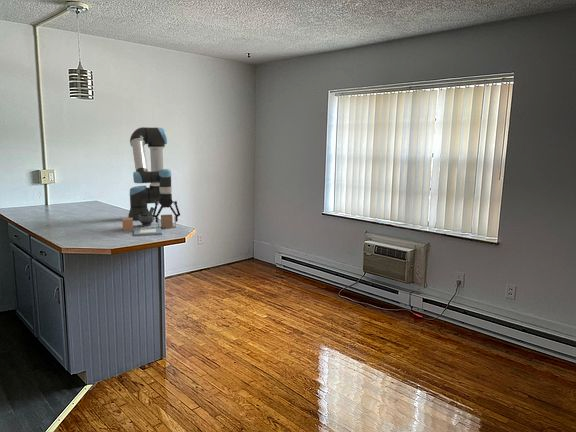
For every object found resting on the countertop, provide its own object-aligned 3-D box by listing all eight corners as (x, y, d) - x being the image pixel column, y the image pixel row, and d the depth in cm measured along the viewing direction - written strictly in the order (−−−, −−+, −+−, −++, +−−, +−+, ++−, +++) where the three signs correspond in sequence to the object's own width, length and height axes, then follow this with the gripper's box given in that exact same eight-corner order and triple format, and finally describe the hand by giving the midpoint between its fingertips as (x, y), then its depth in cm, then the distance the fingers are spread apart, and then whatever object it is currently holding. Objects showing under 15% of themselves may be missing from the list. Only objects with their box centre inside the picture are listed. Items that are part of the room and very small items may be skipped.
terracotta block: (123, 228, 284) (122, 218, 282) (133, 228, 286) (132, 217, 284) (122, 230, 278) (122, 219, 277) (132, 230, 280) (132, 219, 279)
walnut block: (161, 226, 291) (160, 214, 290) (172, 226, 294) (171, 214, 292) (161, 228, 285) (161, 216, 283) (172, 228, 287) (172, 216, 286)
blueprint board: (134, 230, 277) (134, 228, 277) (161, 229, 282) (160, 227, 282) (134, 236, 262) (133, 234, 262) (162, 234, 267) (162, 232, 267)
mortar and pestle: (144, 227, 287) (143, 209, 285) (136, 225, 293) (135, 207, 291) (159, 225, 296) (158, 207, 294) (151, 223, 302) (150, 206, 300)
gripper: (147, 194, 278) (149, 229, 282) (184, 193, 285) (185, 227, 289) (147, 193, 285) (148, 226, 289) (183, 192, 292) (184, 225, 296)
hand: (167, 227), depth 289 cm, fingers open, 10 cm apart
